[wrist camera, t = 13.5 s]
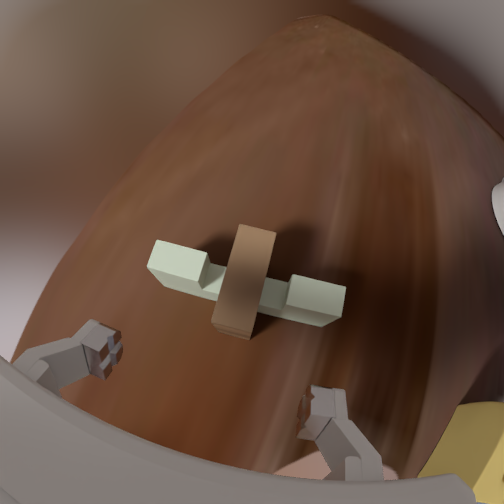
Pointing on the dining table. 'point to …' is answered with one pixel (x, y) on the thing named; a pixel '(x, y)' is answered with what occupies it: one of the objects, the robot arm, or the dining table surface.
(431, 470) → the cheese
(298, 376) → the dining table surface
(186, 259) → the slotted board
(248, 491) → the robot arm
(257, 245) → the cross-piece
